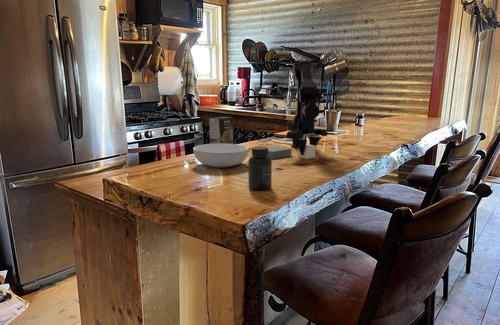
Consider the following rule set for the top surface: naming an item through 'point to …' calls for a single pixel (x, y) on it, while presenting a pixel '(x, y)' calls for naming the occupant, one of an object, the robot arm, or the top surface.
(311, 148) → the cream cube
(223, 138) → the coffee box
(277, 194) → the top surface
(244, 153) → the serving bowl
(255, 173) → the supplement bottle
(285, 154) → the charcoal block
